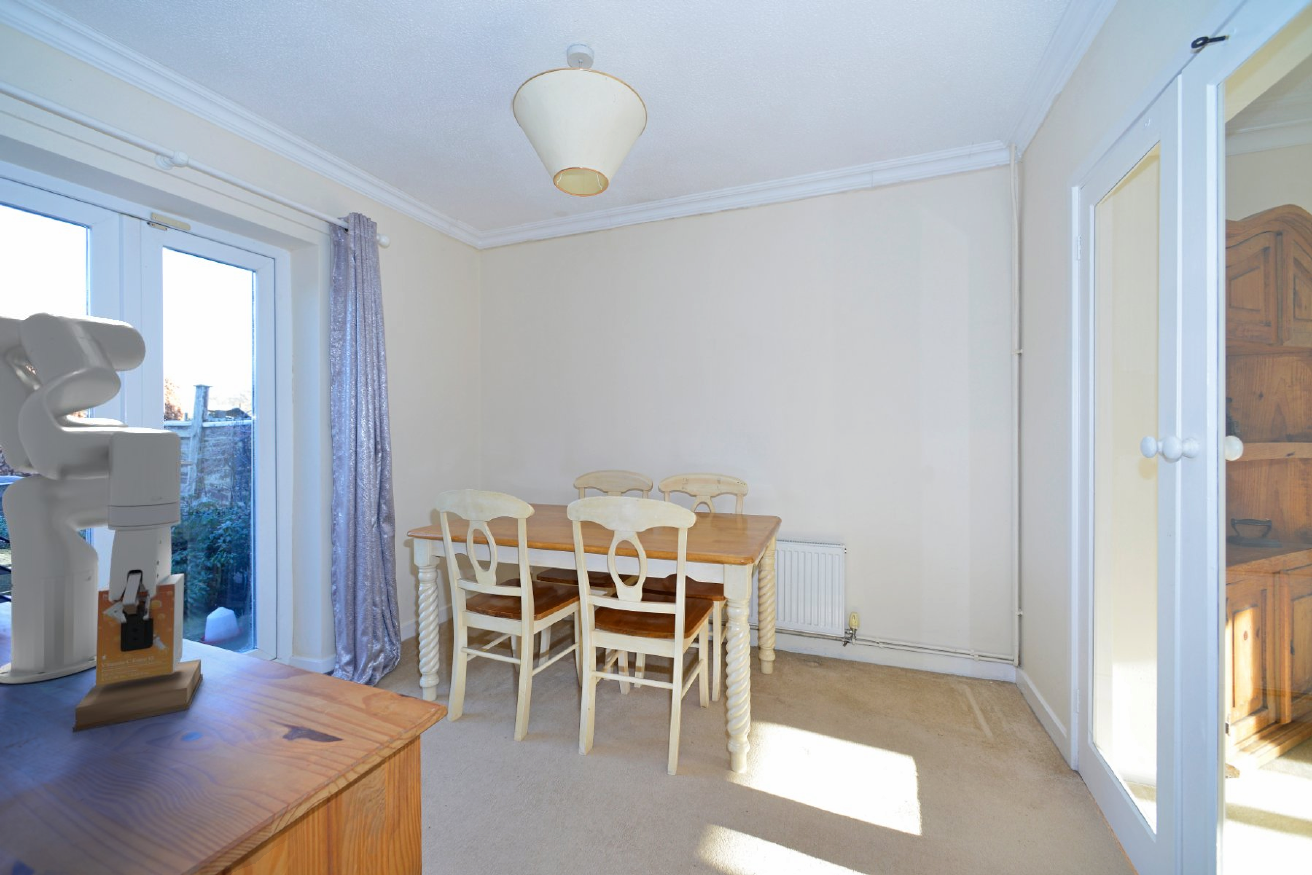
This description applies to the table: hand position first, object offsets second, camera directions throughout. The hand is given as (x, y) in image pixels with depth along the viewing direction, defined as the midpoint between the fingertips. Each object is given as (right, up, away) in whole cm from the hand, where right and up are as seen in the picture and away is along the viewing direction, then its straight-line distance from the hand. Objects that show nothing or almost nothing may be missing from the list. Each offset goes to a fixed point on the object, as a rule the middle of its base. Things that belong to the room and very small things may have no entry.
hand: (144, 639), depth 77 cm
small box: (0, -5, 0) cm, 5 cm away
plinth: (0, -9, 0) cm, 9 cm away
